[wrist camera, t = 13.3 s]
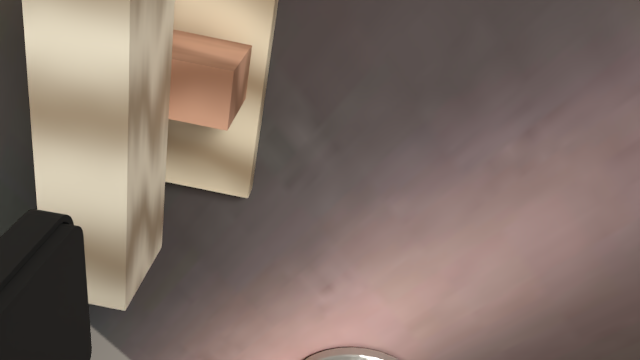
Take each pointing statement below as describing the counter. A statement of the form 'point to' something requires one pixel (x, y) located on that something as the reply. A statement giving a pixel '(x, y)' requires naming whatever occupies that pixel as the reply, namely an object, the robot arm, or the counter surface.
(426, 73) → the counter surface
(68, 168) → the birch bar
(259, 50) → the ridge stand
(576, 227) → the counter surface
